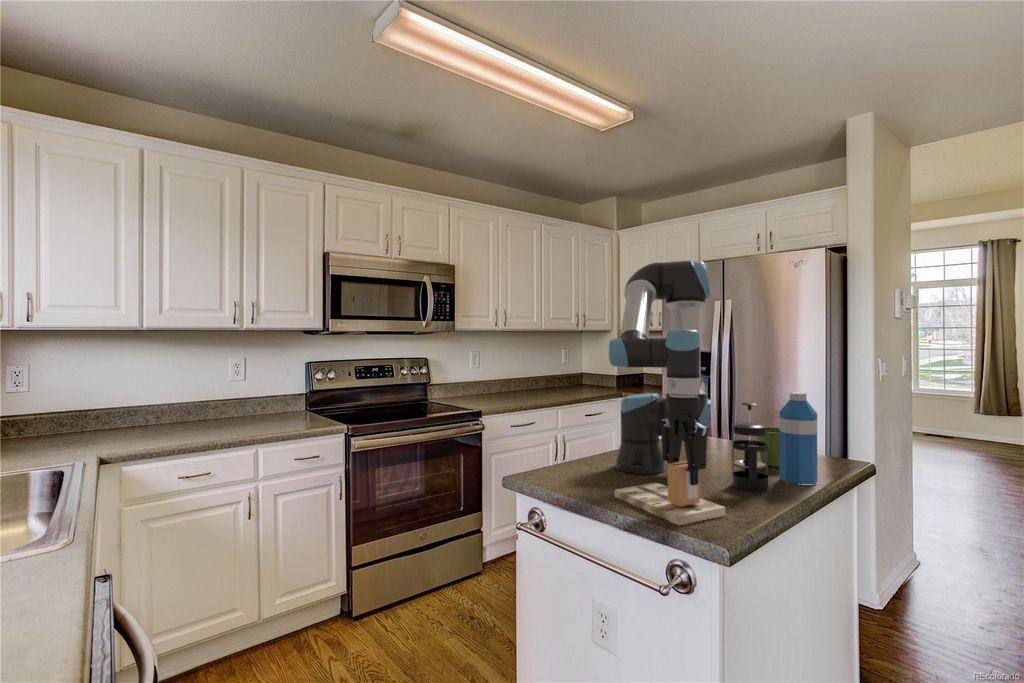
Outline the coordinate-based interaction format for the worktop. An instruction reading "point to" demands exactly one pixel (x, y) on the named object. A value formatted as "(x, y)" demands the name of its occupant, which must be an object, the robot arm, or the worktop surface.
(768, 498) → the worktop surface
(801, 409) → the water bottle
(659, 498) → the fader board
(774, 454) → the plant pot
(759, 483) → the french press
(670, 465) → the block
